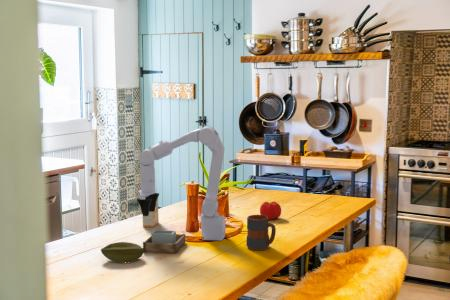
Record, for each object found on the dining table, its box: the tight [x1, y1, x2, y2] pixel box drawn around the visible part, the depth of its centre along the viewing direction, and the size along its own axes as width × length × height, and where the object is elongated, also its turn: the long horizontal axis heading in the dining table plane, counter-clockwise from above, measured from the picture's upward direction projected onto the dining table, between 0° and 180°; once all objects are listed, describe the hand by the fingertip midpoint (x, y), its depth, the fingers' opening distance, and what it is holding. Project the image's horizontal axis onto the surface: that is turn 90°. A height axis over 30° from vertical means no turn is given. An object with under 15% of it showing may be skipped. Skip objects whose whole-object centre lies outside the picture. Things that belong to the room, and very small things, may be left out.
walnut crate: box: [142, 233, 186, 255], centre depth 223 cm, size 12×13×4 cm
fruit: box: [100, 241, 145, 264], centre depth 209 cm, size 11×12×7 cm
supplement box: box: [142, 198, 160, 228], centre depth 256 cm, size 8×5×13 cm, turn 168°
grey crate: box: [150, 229, 177, 244], centre depth 223 cm, size 8×5×6 cm, turn 79°
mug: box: [246, 214, 277, 251], centre depth 220 cm, size 9×12×12 cm
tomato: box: [259, 200, 282, 221], centre depth 265 cm, size 9×9×8 cm
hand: (148, 213), depth 235 cm, fingers open, 7 cm apart
